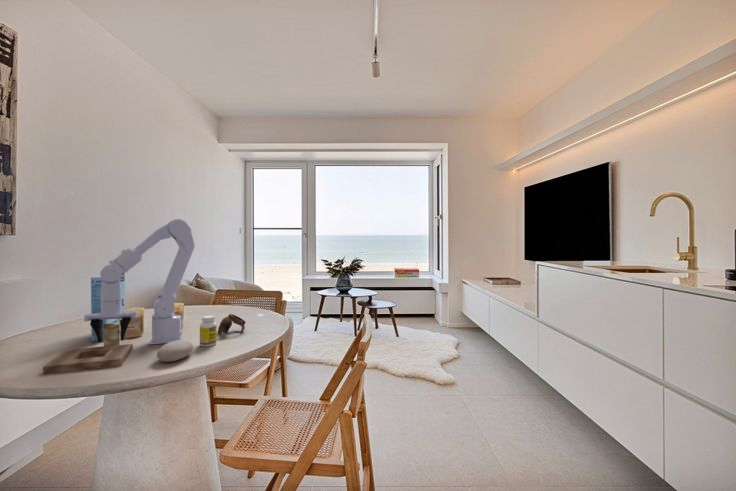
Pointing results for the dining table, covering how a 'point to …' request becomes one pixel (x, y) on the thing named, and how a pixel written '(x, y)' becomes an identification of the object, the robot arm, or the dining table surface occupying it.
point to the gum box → (97, 301)
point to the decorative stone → (174, 350)
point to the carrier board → (88, 358)
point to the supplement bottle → (208, 331)
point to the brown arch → (230, 323)
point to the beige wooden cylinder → (111, 334)
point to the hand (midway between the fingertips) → (111, 340)
